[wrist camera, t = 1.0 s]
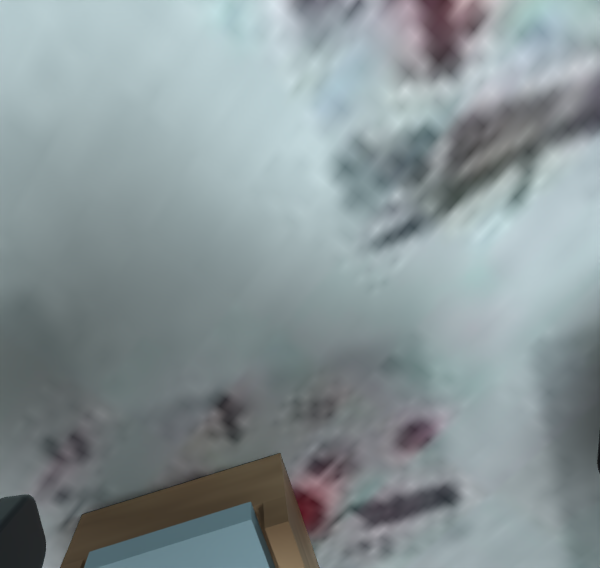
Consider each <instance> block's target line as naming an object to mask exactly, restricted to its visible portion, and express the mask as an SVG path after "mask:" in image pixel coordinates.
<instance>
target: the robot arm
mask: <svg viewBox="0 0 600 568" xmlns="http://www.w3.org/2000/svg"><path fill="white" fill-rule="evenodd" d="M597 465H598V470H599V473H600V432H599V445H598V458H597ZM45 552H46V540H45V535H44V531H43V528H42V524H41V520H40V516H39V513H38V509H37V505H36V502H35V500H34V498H33V497H32V496H30V495H19V496H11V497H4V498H1V499H0V568H42V565H43V561H44V557H45Z"/></svg>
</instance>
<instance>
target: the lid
mask: <svg viewBox="0 0 600 568" xmlns="http://www.w3.org/2000/svg"><path fill="white" fill-rule="evenodd" d="M84 568H275V565H274V562H273V560H272V557H271V554H270V552H269V549H268V546H267V544H266V541H265V538H264V535H263V533H262V530H261V527H260V525H259V522H258V519H257V517H256V514H255V511H254V509H253V506H252V503H251V502H248V503H244V504H241V505H238V506H235V507H232V508H228V509H225V510H222V511H219V512H216V513H212V514H209V515H206V516H203V517H200V518H196V519H193V520H190V521H187V522H184V523H180V524H177V525H174V526H171V527H168V528H164V529H161V530H158V531H155V532H152V533H148V534H145V535H142V536H139V537H136V538H132V539H129V540H126V541H123V542H120V543H116V544H113V545H110V546H107V547H104V548H100V549H97V550H94V551H91V552H89V555H88V558H87V560H86V563H85V566H84Z"/></svg>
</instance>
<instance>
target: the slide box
mask: <svg viewBox="0 0 600 568" xmlns="http://www.w3.org/2000/svg"><path fill="white" fill-rule="evenodd" d="M248 502H251V503H252V506H253V509H254V511H255V514H256V517H257V519H258V522H259V525H260V527H261V530H262V533H263V535H264V538H265V541H266V544H267V546H268V549H269V552H270V554H271V557H272V560H273V562H274V565H275V568H319V565H318V562H317V559H316V556H315V553H314V551H313V548H312V545H311V542H310V539H309V536H308V533H307V530H306V527H305V524H304V521H303V518H302V515H301V513H300V510H299V507H298V504H297V501H296V498H295V495H294V492H293V489H292V486H291V483H290V480H289V477H288V474H287V472H286V469H285V466H284V463H283V460H282V457H281V454H280V453H279V454H276V455H273V456H269V457H266V458H263V459H260V460H257V461H253V462H250V463H247V464H244V465H240V466H237V467H234V468H231V469H228V470H224V471H221V472H218V473H215V474H211V475H208V476H205V477H202V478H199V479H195V480H192V481H189V482H186V483H182V484H179V485H176V486H173V487H170V488H166V489H163V490H160V491H157V492H154V493H150V494H147V495H144V496H141V497H137V498H134V499H131V500H128V501H125V502H121V503H118V504H115V505H112V506H108V507H105V508H102V509H99V510H96V511H92V512H89V513H86V514H83V515H82V516H81V518H80V521H79V523H78V526H77V528H76V530H75V533H74V535H73V538H72V540H71V543H70V545H69V547H68V550H67V552H66V555H65V557H64V559H63V562H62V564H61V567H60V568H84V566H85V563H86V560H87V558H88V555H89V552H91V551H94V550H97V549H100V548H104V547H107V546H110V545H113V544H116V543H120V542H123V541H126V540H129V539H132V538H136V537H139V536H142V535H145V534H148V533H152V532H155V531H158V530H161V529H164V528H168V527H171V526H174V525H177V524H180V523H184V522H187V521H190V520H193V519H196V518H200V517H203V516H206V515H209V514H212V513H216V512H219V511H222V510H225V509H228V508H232V507H235V506H238V505H241V504H244V503H248Z"/></svg>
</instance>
